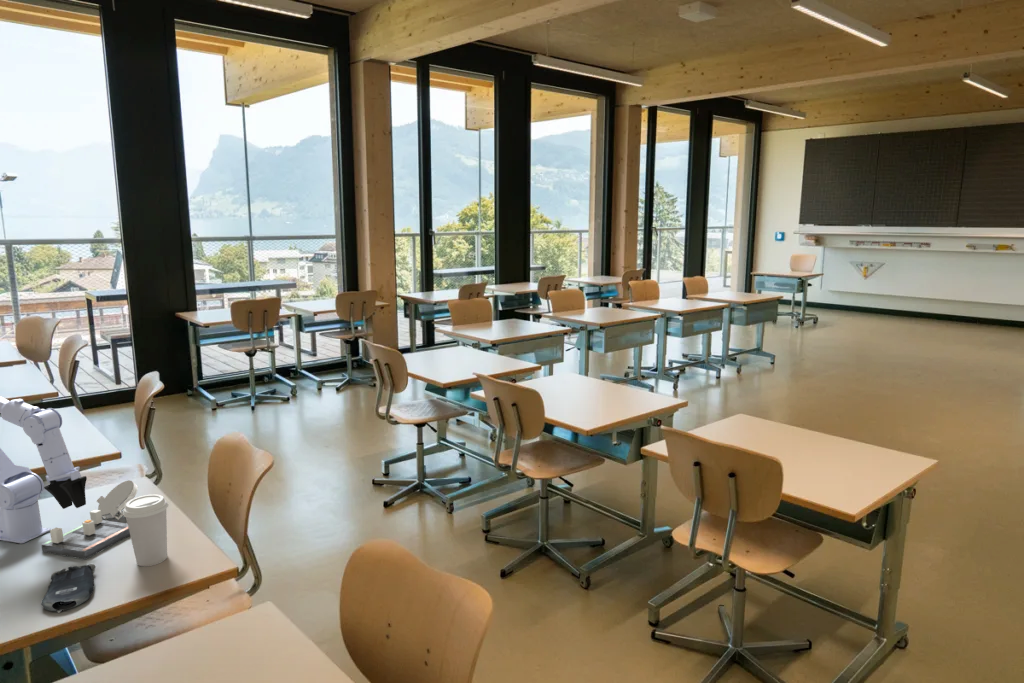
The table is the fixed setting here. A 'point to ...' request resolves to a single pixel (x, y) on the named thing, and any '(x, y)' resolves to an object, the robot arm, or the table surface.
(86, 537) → the grey slider switch panel
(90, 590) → the electronic device
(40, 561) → the table surface
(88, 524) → the block
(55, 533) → the block
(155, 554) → the coffee cup
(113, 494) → the tabbed white plastic disc
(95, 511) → the block
